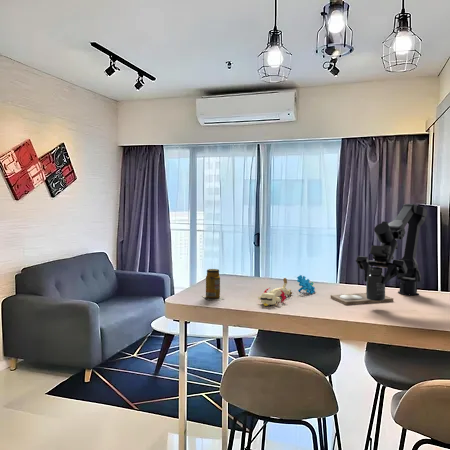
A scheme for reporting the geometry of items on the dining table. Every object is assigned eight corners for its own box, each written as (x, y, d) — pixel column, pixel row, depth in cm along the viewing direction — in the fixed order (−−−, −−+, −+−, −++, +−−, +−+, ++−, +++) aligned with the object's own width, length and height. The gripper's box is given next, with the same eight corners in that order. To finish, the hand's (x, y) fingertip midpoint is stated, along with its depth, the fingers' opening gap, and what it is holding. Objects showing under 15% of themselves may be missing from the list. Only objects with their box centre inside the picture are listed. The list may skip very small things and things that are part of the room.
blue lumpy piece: (307, 292, 189) (295, 274, 194) (298, 300, 191) (286, 282, 197) (320, 291, 197) (308, 274, 202) (312, 299, 199) (300, 282, 205)
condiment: (218, 295, 191) (218, 268, 190) (224, 299, 183) (224, 271, 182) (202, 296, 188) (201, 268, 187) (208, 301, 180) (208, 272, 179)
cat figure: (275, 296, 195) (252, 304, 172) (275, 276, 195) (253, 282, 172) (296, 298, 190) (276, 307, 168) (297, 278, 190) (277, 284, 168)
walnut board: (376, 294, 191) (376, 291, 191) (393, 301, 180) (393, 298, 179) (330, 298, 185) (330, 294, 185) (345, 304, 174) (345, 301, 174)
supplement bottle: (384, 297, 170) (385, 266, 169) (385, 301, 164) (385, 269, 163) (366, 296, 172) (366, 266, 171) (365, 300, 166) (366, 269, 165)
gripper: (358, 235, 175) (344, 266, 168) (405, 239, 163) (392, 272, 156) (366, 253, 182) (353, 283, 175) (412, 257, 169) (400, 290, 162)
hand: (374, 282), depth 167 cm, fingers closed on supplement bottle, 7 cm apart
